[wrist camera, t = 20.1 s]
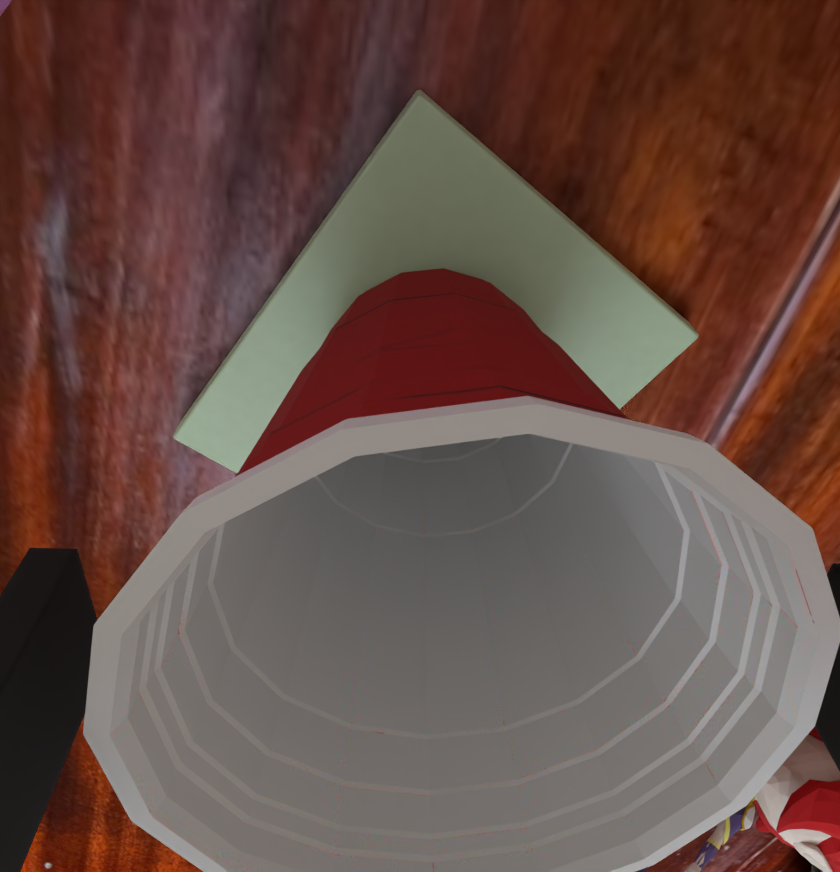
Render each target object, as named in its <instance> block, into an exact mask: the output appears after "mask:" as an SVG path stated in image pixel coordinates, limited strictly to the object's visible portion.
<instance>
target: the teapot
mask: <svg viewBox="0 0 840 872" xmlns="http://www.w3.org/2000/svg"><path fill="white" fill-rule="evenodd" d="M11 1H12V0H0V16H1V14H2V13H3V12H4V11H5V9H6V8H7V7H8V5H9V4H10V2H11Z"/></svg>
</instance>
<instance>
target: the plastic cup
mask: <svg viewBox="0 0 840 872" xmlns="http://www.w3.org/2000/svg"><path fill="white" fill-rule="evenodd" d="M839 643H840V617H839V613H838V610H837V607H836V604H835V600H834V597H833V594H832V590H831V587H830V584H829V580H828V577H827V574H826V571H825V567H824V564H823V561H822V557H821V554H820V551H819V548H818V544H817V541H816V538H815V534H814V531H813V528H811V527H810V526H809V525H808V524H806V523H805V522H804V521H803V520H802V519H800V518H799V517H798V516H797V515H795V514H794V513H793V512H792V511H791V510H789V509H788V508H787V507H786V506H784V505H783V504H782V503H781V502H779V501H778V500H777V499H776V498H775V497H773V496H772V495H771V494H770V493H768V492H767V491H766V490H765V489H764V488H762V487H761V486H760V485H759V484H757V483H756V482H755V481H754V480H752V479H751V478H750V477H749V476H748V475H746V474H745V473H744V472H743V471H741V470H740V469H739V468H738V467H737V466H735V465H734V464H733V463H732V462H730V461H729V460H728V459H727V458H725V457H724V456H723V455H722V454H721V453H719V452H718V451H717V450H716V449H714V448H713V447H712V446H711V445H709V444H708V443H706V442H704V441H702V440H700V439H698V438H696V437H694V436H692V435H689V434H687V433H683V432H679V431H674V430H670V429H666V428H662V427H658V426H653V425H649V424H645V423H641V422H636V421H632V420H629V419H628V418H627V417H626V416H625V415H624V414H623V413H622V412H621V411H620V410H619V408H618V407H617V406H616V405H615V404H614V403H613V402H612V401H611V400H610V399H609V398H608V397H607V396H606V395H605V394H604V393H603V391H602V390H601V389H600V388H599V387H598V386H597V385H596V384H595V383H594V382H593V381H592V380H591V379H590V378H589V377H588V375H587V374H586V373H585V372H584V371H583V370H582V369H581V368H580V367H579V366H578V365H577V364H576V363H575V362H574V361H573V360H572V358H571V357H570V356H569V355H568V354H567V353H566V352H565V351H564V350H563V349H562V348H561V347H560V346H559V345H558V344H557V343H556V342H554V341H553V340H552V339H551V338H549V337H548V336H547V335H546V334H544V333H543V332H542V331H541V330H540V329H539V327H538V326H537V325H536V324H535V323H534V321H533V320H532V319H531V318H530V316H529V315H528V314H527V313H526V312H525V310H524V309H522V308H521V307H520V306H519V305H517V304H516V303H515V302H514V301H513V300H511V299H510V298H509V297H508V296H506V295H505V294H504V293H503V292H501V291H500V290H499V289H498V288H496V287H495V286H494V285H493V284H491V283H490V282H487V281H485V280H483V279H480V278H476V277H473V276H469V275H466V274H462V273H459V272H455V271H452V270H448V269H445V268H441V269H431V270H421V271H412V272H402V273H399V274H398V275H396V276H394V277H392V278H390V279H388V280H386V281H384V282H382V283H380V284H379V285H377V286H375V287H373V288H371V289H369V290H367V291H365V292H364V293H363V294H361V295H359V296H358V297H357V298H356V299H355V300H354V302H353V303H352V304H351V305H350V307H349V308H348V309H347V310H346V312H345V313H344V314H343V315H342V316H341V318H340V319H339V320H338V321H337V323H336V324H335V325H334V326H333V327H332V329H331V330H330V332H329V334H328V335H327V337H326V339H325V340H324V342H323V344H322V345H321V347H320V349H319V350H318V351H317V352H316V353H315V355H314V356H313V357H312V358H311V360H310V361H309V362H308V363H307V364H306V366H305V367H304V368H303V369H302V371H301V372H300V374H299V375H298V377H297V379H296V380H295V382H294V383H293V385H292V387H291V388H290V390H289V391H288V393H287V395H286V396H285V398H284V399H283V401H282V403H281V404H280V406H279V408H278V409H277V411H276V412H275V414H274V416H273V417H272V419H271V420H270V422H269V424H268V425H267V427H266V428H265V430H264V432H263V433H262V435H261V437H260V438H259V440H258V441H257V443H256V445H255V446H254V448H253V449H252V451H251V453H250V454H249V456H248V457H247V459H246V461H245V462H244V464H243V465H242V467H241V469H240V470H239V472H238V473H237V474H236V476H235V477H234V478H232V479H230V480H228V481H226V482H224V483H222V484H220V485H218V486H216V487H215V488H213V489H211V490H209V491H207V492H205V493H203V494H201V495H199V496H197V497H196V498H195V499H194V500H193V501H192V502H191V503H190V504H189V505H188V506H187V507H186V509H185V510H184V511H183V512H182V513H181V514H180V515H179V517H178V518H177V519H176V520H175V522H174V523H173V524H172V525H171V527H170V528H169V529H168V531H167V532H166V533H165V534H164V536H163V537H162V538H161V540H160V541H159V542H158V543H157V545H156V546H155V547H154V548H153V550H152V551H151V552H150V554H149V555H148V556H147V557H146V559H145V560H144V561H143V563H142V564H141V565H140V566H139V568H138V569H137V570H136V572H135V573H134V574H133V575H132V577H131V578H130V579H129V580H128V582H127V583H126V584H125V586H124V587H123V588H122V589H121V591H120V592H119V593H118V595H117V596H116V597H115V598H114V600H113V601H112V602H111V604H110V605H109V606H108V607H107V609H106V610H105V611H104V612H103V614H102V615H101V616H100V618H99V619H98V620H97V621H96V623H95V624H94V626H93V636H92V646H91V657H90V667H89V678H88V688H87V699H86V709H85V719H84V730H83V735H84V737H85V738H86V740H87V742H88V744H89V746H90V747H91V749H92V751H93V753H94V755H95V756H96V758H97V760H98V762H99V764H100V766H101V767H102V769H103V771H104V773H105V775H106V776H107V778H108V780H109V782H110V784H111V785H112V787H113V789H114V791H115V793H116V794H117V796H118V798H119V800H120V802H121V803H122V805H123V807H124V809H125V811H126V812H127V814H128V816H129V818H130V820H131V821H132V822H133V823H135V824H136V825H138V826H139V827H140V828H142V829H143V830H145V831H146V832H148V833H149V834H150V835H152V836H153V837H155V838H156V839H158V840H159V841H160V842H162V843H163V844H165V845H166V846H168V847H169V848H170V849H172V850H173V851H175V852H176V853H178V854H179V855H180V856H182V857H183V858H185V859H186V860H188V861H189V862H190V863H192V864H193V865H195V866H196V867H198V868H199V869H201V870H202V871H203V872H635V871H638V870H641V869H644V868H647V867H649V866H652V865H654V864H656V863H657V862H659V861H661V860H662V859H664V858H665V857H667V856H668V855H670V854H672V853H673V852H675V851H676V850H678V849H679V848H681V847H682V846H684V845H686V844H687V843H689V842H690V841H692V840H693V839H695V838H697V837H698V836H700V835H701V834H703V833H704V832H706V831H708V830H709V829H711V828H712V827H714V826H715V825H717V824H719V823H720V822H722V821H723V820H725V819H726V818H728V817H730V816H731V815H733V814H734V813H736V812H737V811H739V810H740V809H742V808H744V807H745V806H747V804H748V803H749V802H750V801H751V800H752V799H753V798H754V796H755V795H756V794H757V793H758V792H759V791H760V789H761V788H762V787H763V786H764V785H765V784H766V782H767V781H768V780H769V779H770V778H771V777H772V775H773V774H774V773H775V772H776V771H777V770H778V768H779V767H780V766H781V765H782V764H783V763H784V761H785V760H786V759H787V758H788V757H789V756H790V754H791V753H792V752H793V751H794V750H795V749H796V748H797V746H798V745H799V744H800V743H801V742H802V741H803V739H804V738H805V737H806V736H807V735H808V734H809V732H810V731H811V730H812V729H813V728H814V727H815V724H816V721H817V718H818V714H819V711H820V708H821V704H822V701H823V697H824V694H825V691H826V687H827V684H828V681H829V677H830V674H831V670H832V667H833V664H834V660H835V657H836V654H837V650H838V647H839Z"/></svg>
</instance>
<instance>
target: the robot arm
mask: <svg viewBox="0 0 840 872" xmlns="http://www.w3.org/2000/svg"><path fill="white" fill-rule="evenodd" d="M827 577H828V580H829V584H830V587H831V590H832V594H833V597H834V600H835V604H836V607H837V610H838V613H839V617H840V564H832V566H831V568H830V570H829V572H828V574H827ZM96 621H97V618H96V615H95V611H94V608H93V604H92V600H91V597H90V593H89V590H88V586H87V583H86V579H85V576H84V572H83V569H82V565H81V561H80V558H79V554H78V551H77V549H52V548H30V549H29V550H28V552H27V554H26V555H25V557H24V558H23V560H22V562H21V563H20V565H19V566H18V568H17V570H16V571H15V573H14V575H13V576H12V578H11V579H10V581H9V583H8V584H7V586H6V588H5V589H4V591H3V592H2V594H1V596H0V872H20V871H21V868H22V866H23V863H24V861H25V859H26V856H27V854H28V851H29V849H30V846H31V844H32V841H33V839H34V837H35V834H36V832H37V829H38V827H39V824H40V822H41V819H42V817H43V815H44V812H45V810H46V807H47V805H48V802H49V800H50V797H51V795H52V792H53V790H54V788H55V785H56V783H57V780H58V778H59V775H60V773H61V770H62V768H63V766H64V763H65V761H66V758H67V756H68V753H69V751H70V748H71V746H72V744H73V741H74V739H75V736H76V734H77V731H78V729H79V726H80V724H81V721H82V719H83V717H84V714H85V709H86V699H87V688H88V678H89V667H90V657H91V646H92V636H93V626H94V624H95V623H96ZM815 728H816V730H817V732H818V733H819V735H820V737H821V739H822V741H823V742H824V744H825V746H826V748H827V750H828V751H829V753H830V755H831V757H832V759H833V760H834V762H835V764H836V766H837V768H838V770H839V771H840V643H839V647H838V650H837V654H836V657H835V660H834V664H833V667H832V670H831V674H830V677H829V681H828V684H827V687H826V691H825V694H824V697H823V701H822V704H821V708H820V711H819V714H818V718H817V721H816V724H815Z"/></svg>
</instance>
